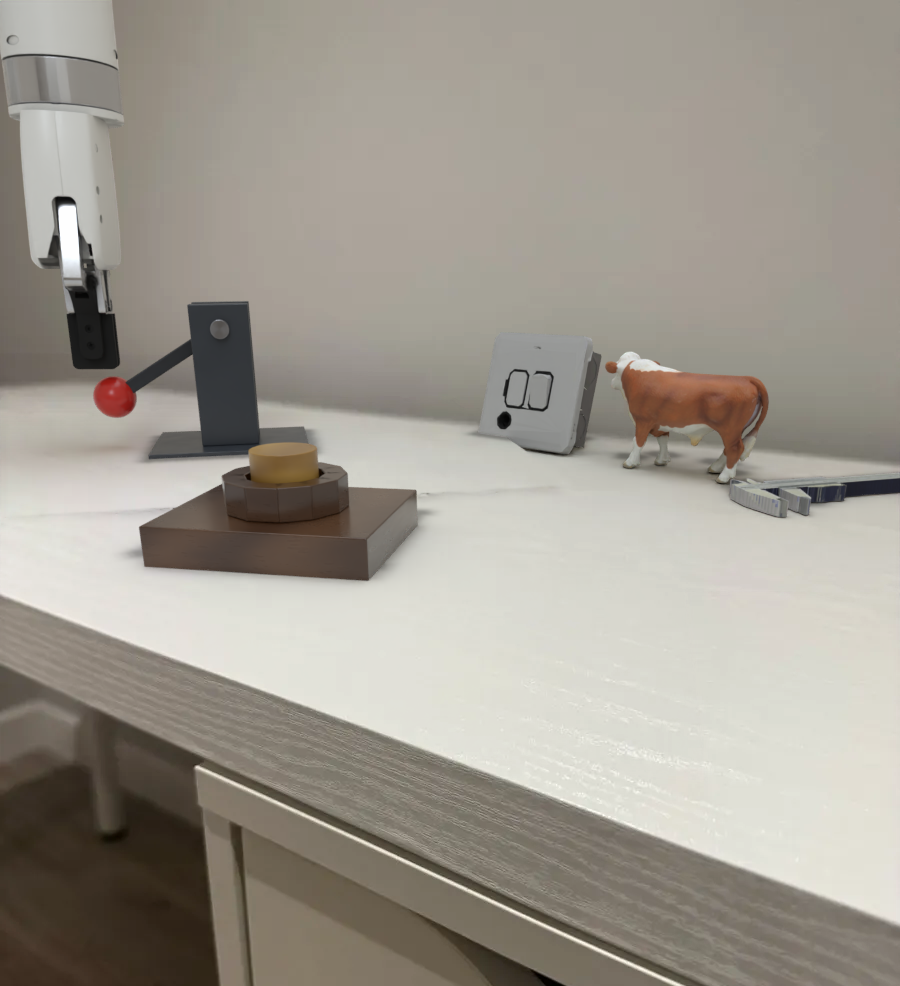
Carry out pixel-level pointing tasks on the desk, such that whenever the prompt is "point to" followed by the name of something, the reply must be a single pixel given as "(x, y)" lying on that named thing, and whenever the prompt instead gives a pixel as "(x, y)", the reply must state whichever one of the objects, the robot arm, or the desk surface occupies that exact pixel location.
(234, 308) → the switch bracket
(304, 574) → the block
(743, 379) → the bull figurine
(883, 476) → the caliper
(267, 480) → the button
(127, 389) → the lever
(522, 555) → the desk surface
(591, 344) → the electrical switch
